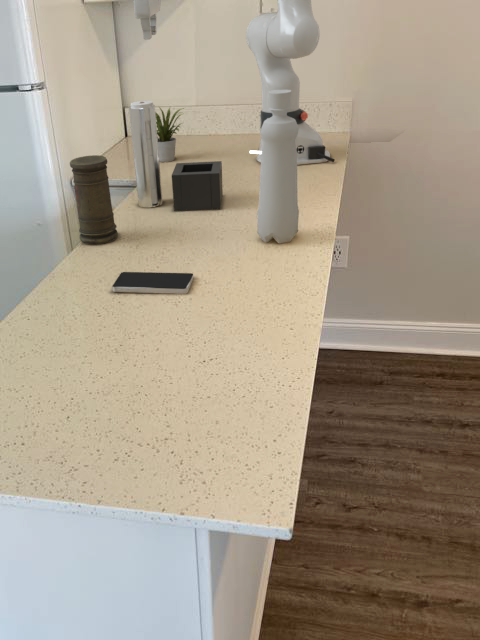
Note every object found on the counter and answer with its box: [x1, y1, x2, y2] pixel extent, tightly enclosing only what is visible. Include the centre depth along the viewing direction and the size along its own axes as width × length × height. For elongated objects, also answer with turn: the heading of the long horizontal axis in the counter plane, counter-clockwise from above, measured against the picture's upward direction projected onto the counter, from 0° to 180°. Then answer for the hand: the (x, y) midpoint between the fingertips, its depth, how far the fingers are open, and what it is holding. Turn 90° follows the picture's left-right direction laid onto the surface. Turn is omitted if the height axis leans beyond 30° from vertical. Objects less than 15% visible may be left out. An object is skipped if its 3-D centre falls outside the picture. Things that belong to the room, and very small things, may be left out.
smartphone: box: [111, 271, 194, 295], centre depth 134 cm, size 8×1×15 cm
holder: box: [171, 160, 224, 212], centre depth 175 cm, size 12×12×9 cm
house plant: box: [155, 106, 185, 163], centre depth 214 cm, size 14×14×16 cm
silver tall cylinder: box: [128, 100, 163, 209], centre depth 173 cm, size 6×6×25 cm
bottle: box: [256, 90, 300, 244], centre depth 143 cm, size 9×9×30 cm
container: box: [69, 154, 119, 246], centre depth 155 cm, size 9×9×18 cm
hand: (150, 37), depth 163 cm, fingers open, 8 cm apart
